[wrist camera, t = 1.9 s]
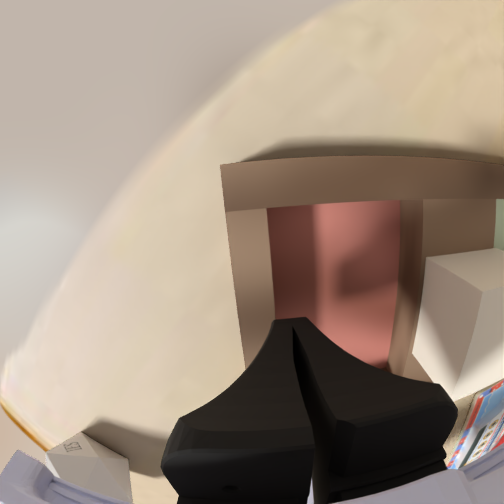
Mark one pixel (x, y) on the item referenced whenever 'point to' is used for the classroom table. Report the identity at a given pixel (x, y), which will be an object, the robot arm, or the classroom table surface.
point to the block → (462, 321)
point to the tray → (352, 244)
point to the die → (91, 467)
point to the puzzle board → (480, 426)
